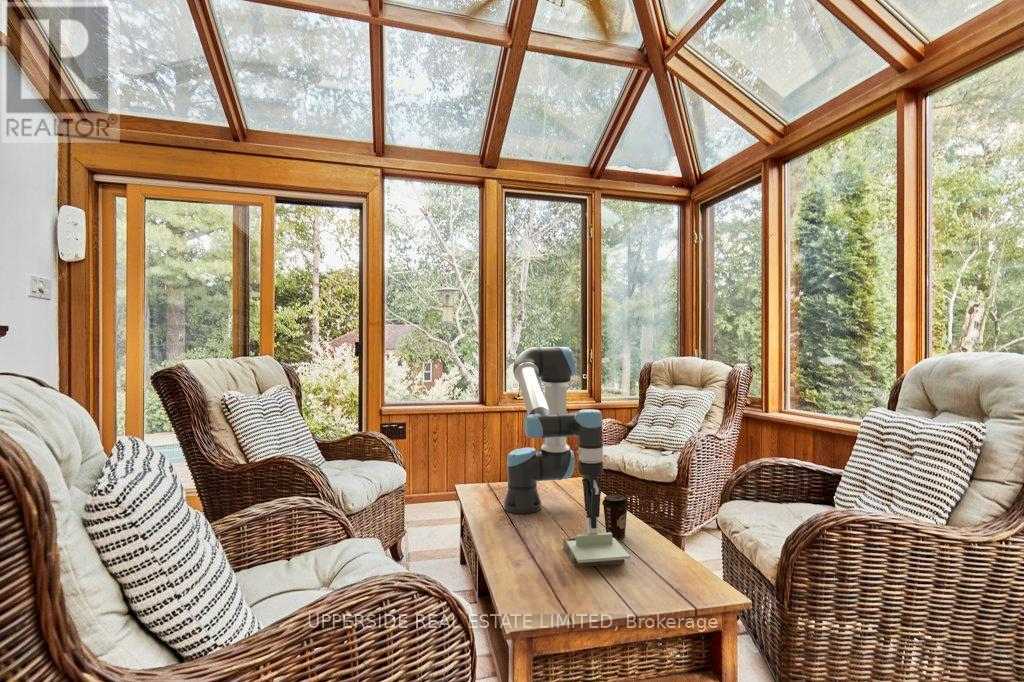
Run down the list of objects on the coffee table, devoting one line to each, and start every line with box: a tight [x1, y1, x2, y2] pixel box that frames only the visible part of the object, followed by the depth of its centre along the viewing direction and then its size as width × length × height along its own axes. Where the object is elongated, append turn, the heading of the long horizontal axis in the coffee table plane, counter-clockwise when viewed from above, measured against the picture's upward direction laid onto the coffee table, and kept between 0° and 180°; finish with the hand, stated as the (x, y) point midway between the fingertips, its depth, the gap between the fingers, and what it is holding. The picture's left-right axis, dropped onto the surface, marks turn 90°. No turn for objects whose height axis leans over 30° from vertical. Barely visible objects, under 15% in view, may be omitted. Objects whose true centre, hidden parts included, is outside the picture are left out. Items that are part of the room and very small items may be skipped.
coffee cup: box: [601, 494, 629, 540], centre depth 169 cm, size 9×8×13 cm
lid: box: [567, 532, 631, 563], centre depth 149 cm, size 14×15×4 cm
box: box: [563, 536, 626, 568], centre depth 154 cm, size 14×15×3 cm
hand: (592, 537), depth 153 cm, fingers closed
